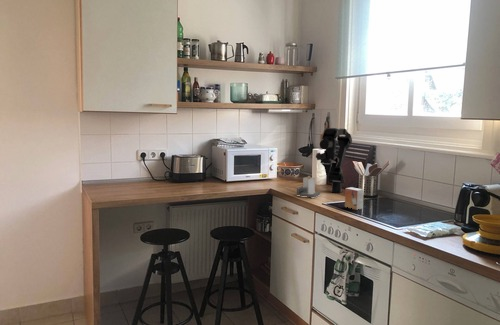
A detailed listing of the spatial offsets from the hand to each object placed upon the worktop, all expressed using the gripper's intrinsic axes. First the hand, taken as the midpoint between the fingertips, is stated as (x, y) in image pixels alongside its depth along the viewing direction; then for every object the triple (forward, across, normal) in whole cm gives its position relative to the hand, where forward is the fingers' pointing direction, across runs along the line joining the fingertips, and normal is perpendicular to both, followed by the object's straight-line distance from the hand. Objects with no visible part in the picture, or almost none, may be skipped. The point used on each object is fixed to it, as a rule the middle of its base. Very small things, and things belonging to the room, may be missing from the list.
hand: (329, 174), depth 252 cm
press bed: (+14, +6, -11) cm, 18 cm away
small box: (+14, +24, +22) cm, 35 cm away
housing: (+11, +7, -10) cm, 17 cm away
